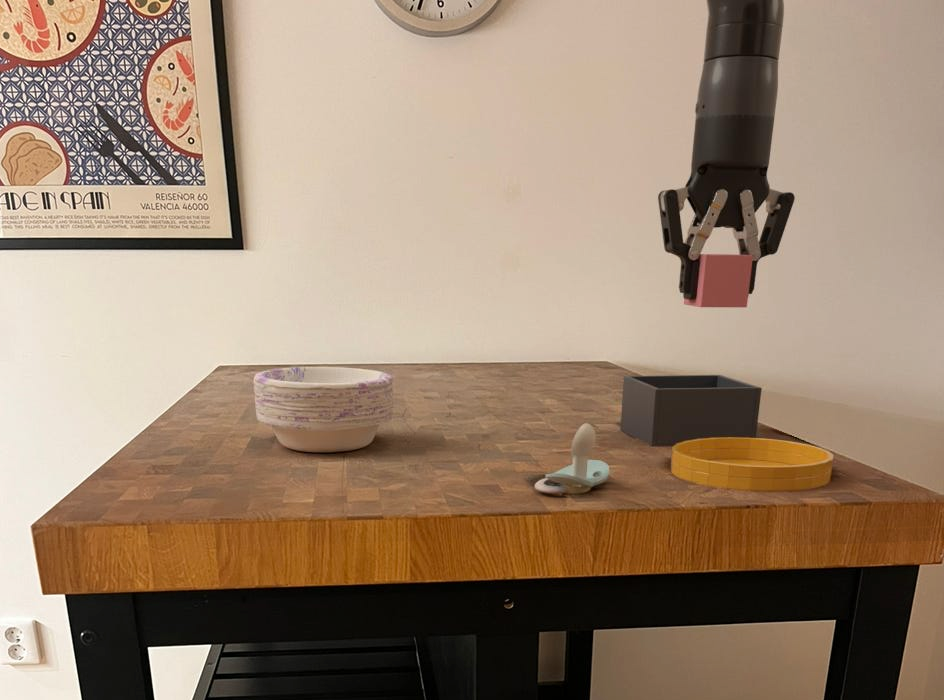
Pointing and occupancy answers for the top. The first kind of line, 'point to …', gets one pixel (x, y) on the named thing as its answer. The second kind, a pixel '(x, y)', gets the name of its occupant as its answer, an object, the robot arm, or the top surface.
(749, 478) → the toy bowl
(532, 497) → the top surface
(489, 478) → the top surface
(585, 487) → the pacifier
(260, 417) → the paper bowls
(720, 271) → the toy cube
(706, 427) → the grey bin
